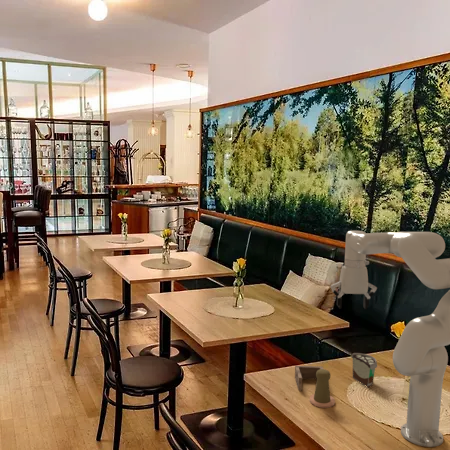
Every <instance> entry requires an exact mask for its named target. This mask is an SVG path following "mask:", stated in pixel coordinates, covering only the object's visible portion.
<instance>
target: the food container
mask: <svg viewBox="0 0 450 450" xmlns="http://www.w3.org/2000/svg"><path fill="white" fill-rule="evenodd" d="M351 358H352V379H354V380H356V381H357V382H358V381H359V382H358V383H360V382H361V383H363V384H364V385H366V386H367V387H368V388H370V386H371V387H372V386H373V385H372V384H373V383H374V380H375V379H374V378H375V371H376V369H377V367H378V362H377V359H376V358H375V357H374V356H372V355H370V354H367V353H360V352H354V353H352V355H351ZM361 383H360V384H361ZM363 384H362V385H363ZM364 385H363V386H364ZM366 386H365V387H366ZM367 387H366V388H367Z"/></svg>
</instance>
